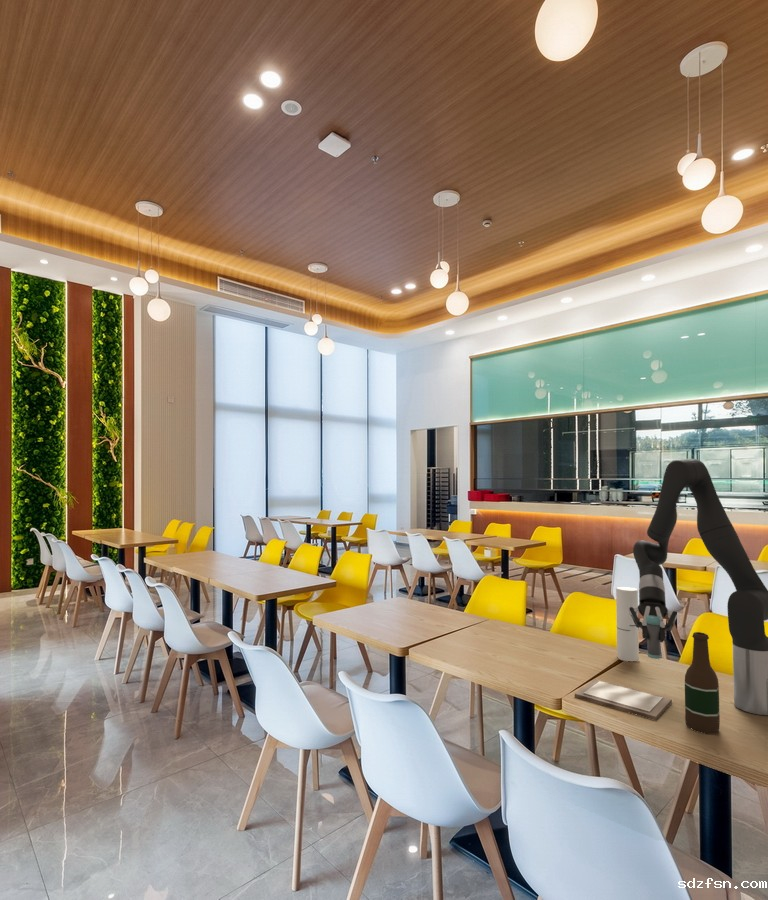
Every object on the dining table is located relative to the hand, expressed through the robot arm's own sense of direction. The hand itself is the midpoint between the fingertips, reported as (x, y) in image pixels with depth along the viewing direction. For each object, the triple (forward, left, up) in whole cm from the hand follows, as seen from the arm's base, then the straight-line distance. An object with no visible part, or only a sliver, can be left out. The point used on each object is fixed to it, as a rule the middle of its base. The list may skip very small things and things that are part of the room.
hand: (654, 639), depth 158 cm
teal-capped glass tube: (0, -2, -6) cm, 6 cm away
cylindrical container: (+17, -29, -16) cm, 37 cm away
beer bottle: (-15, +15, -16) cm, 27 cm away
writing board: (+6, +11, -16) cm, 20 cm away
